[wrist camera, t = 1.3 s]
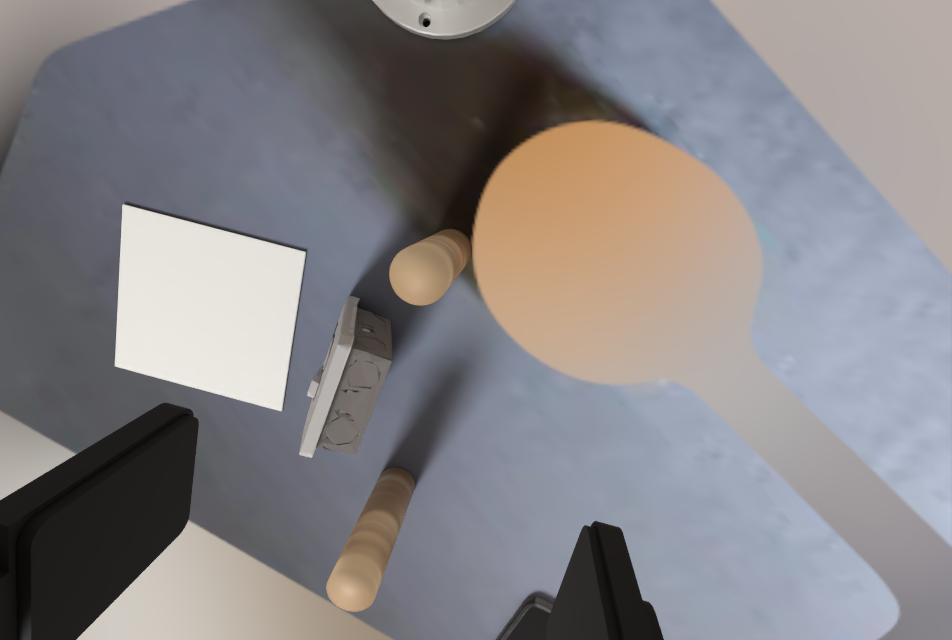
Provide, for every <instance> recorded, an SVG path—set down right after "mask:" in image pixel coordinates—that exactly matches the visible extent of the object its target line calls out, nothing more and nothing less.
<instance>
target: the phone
mask: <svg viewBox="0 0 952 640" xmlns="http://www.w3.org/2000/svg"><path fill="white" fill-rule="evenodd" d="M552 608H553V605H552V604H550V603H549V602H547V601H545V600H543V599H541V598H538V597H529V598H527V599H526V600H525V601H524V602H523V603H522V604H521V606H520V607H519V608H518V610H517V611H516V613H515V614H514V615H513V617H512V618H511V619H510V621H509V622H508V623H507V625H506V626H505V628H504V629H503V630H502V632H501V633H500V634H499V636H498V637H497V639H496V640H546V630H547V623H548V619H549V616H550V613H551V610H552ZM511 621H512V622H511ZM509 624H510V625H509Z"/></svg>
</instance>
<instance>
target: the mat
mask: <svg viewBox="0 0 952 640" xmlns="http://www.w3.org/2000/svg"><path fill="white" fill-rule="evenodd" d="M305 259H306V252H305V251H301V250H297V249H293V248H289V247H285V246H282V245H278V244H274V243H270V242H266V241H263V240H259V239H255V238H251V237H247V236H243V235H240V234H236V233H232V232H228V231H224V230H220V229H217V228H213V227H209V226H205V225H201V224H198V223H194V222H190V221H186V220H182V219H178V218H175V217H171V216H167V215H163V214H159V213H155V212H152V211H148V210H144V209H140V208H136V207H133V206H129V205H125V204H123V209H122V230H121V251H120V271H119V292H118V313H117V333H116V354H115V366H116V367H119V368H123V369H127V370H131V371H134V372H138V373H142V374H145V375H149V376H153V377H156V378H160V379H164V380H168V381H171V382H175V383H179V384H182V385H186V386H190V387H193V388H197V389H201V390H205V391H208V392H212V393H216V394H219V395H223V396H227V397H230V398H234V399H238V400H242V401H245V402H249V403H253V404H256V405H260V406H264V407H268V408H271V409H275V410H279V411H282V410H283V403H284V397H285V390H286V384H287V377H288V371H289V364H290V357H291V351H292V344H293V338H294V331H295V324H296V318H297V311H298V305H299V298H300V292H301V285H302V278H303V272H304V265H305Z"/></svg>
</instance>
